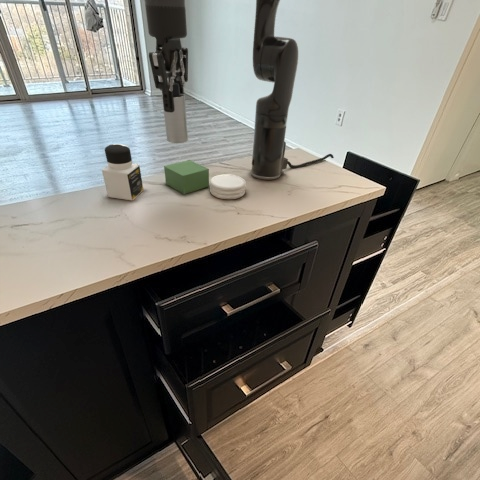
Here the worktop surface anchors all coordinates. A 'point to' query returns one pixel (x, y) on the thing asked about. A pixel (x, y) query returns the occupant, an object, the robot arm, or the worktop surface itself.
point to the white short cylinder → (227, 186)
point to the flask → (176, 118)
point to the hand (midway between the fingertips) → (174, 108)
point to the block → (186, 176)
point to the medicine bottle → (121, 173)
